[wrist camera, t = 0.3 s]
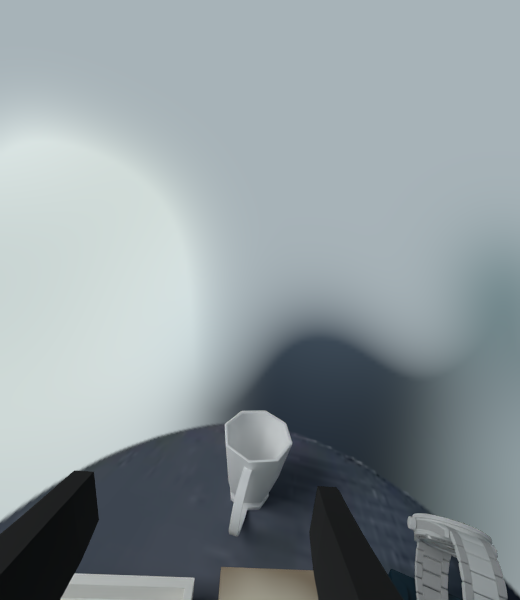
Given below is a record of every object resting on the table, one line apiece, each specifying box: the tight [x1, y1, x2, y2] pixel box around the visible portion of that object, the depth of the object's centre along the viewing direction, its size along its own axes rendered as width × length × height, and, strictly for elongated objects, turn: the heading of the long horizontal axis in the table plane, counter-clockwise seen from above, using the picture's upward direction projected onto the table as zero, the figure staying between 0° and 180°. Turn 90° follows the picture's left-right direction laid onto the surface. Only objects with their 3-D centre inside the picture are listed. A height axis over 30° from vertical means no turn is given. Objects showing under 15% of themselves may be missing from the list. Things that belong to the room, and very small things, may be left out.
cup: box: [225, 411, 292, 537], centre depth 28 cm, size 7×10×8 cm
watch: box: [388, 513, 508, 600], centre depth 20 cm, size 6×8×11 cm
